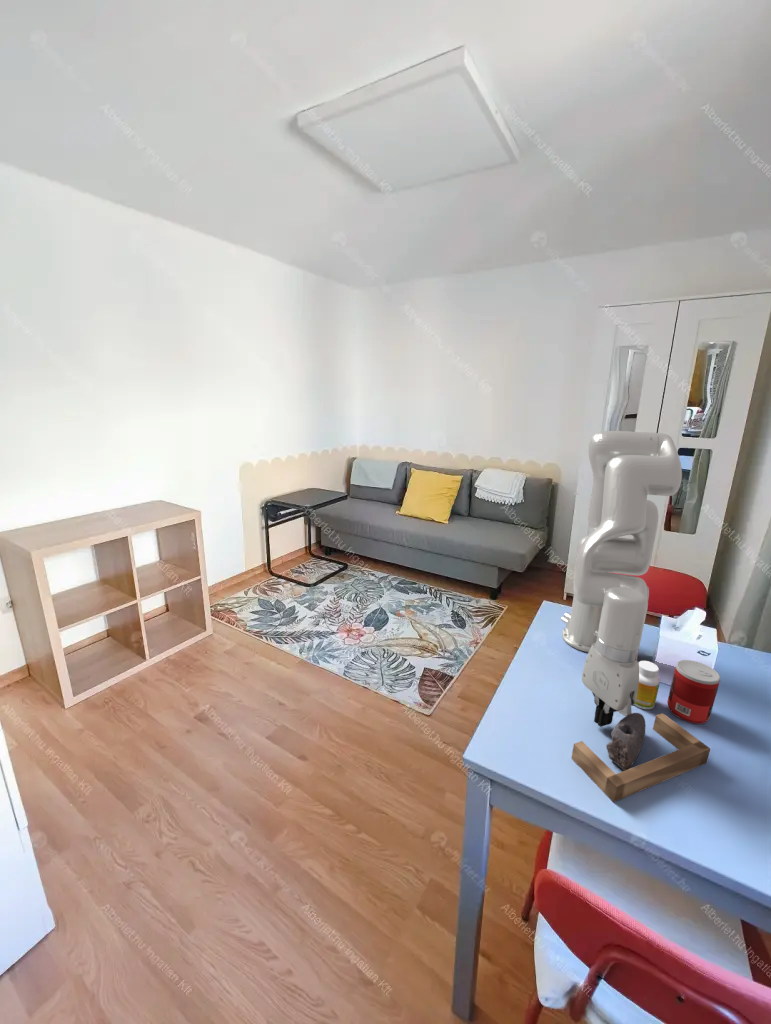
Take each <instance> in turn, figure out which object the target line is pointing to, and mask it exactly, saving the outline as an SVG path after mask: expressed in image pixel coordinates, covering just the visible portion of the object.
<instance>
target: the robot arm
mask: <svg viewBox="0 0 771 1024" xmlns="http://www.w3.org/2000/svg"><path fill="white" fill-rule="evenodd" d="M588 458H589V463H590V466H591V470H592V477H593V479H592V487H591V493H590V499H589V507H588V515H587V516H588V518H587V522H588V525H589V527H590V528H591V529H592V530H593V531H592V532H590V533H589V534H587V535H586V536H583V537H581V538H580V539H579V540H578V543H577V547H576V548H577V550H576V558H575V563H574V576H573V599H572V603H571V604H572V605H571V611H570V612H565V613H564V615H563V616H562V617H561V618H560V619H561V621H562V622H563V623H565V624H566V626H565V627H564V628H563V629H562V631H561V637H562V639H563V641H564V642H565V643H566V644H568V645H569V646H571V647H572V648H574V649H576V650H579V651H582V652H586V653H587V656H586V659H585V661H584V665H583V669H582V674H581V681H582V682H581V683H582V684H583V685H584V687H585V688H586V689H588V690H589V691H590V692H591V694H592V696H593V697H594V699H593V701H594V705H595V706H596V707H595V712H594V718H593V719H594V720H593V722H594V724H597V725H598V726H599V728H602V727H605V726H609V725H611V724H612V721H613V717H614V713H615V712H618V713H619V714H620V715H622V716H624V717H626V716H629V715H631V714H632V713H633V712H632V707H633V706H635V705H634V704H635V702H636V698H637V693H638V686H639V662H640V661H638V656H639V651H640V645H641V640H642V636H643V631H644V628H645V621H646V617H647V612H648V606H649V597H650V587H649V586H647V585H648V584H647V583H646V581H645V580H644V579H643V578H641V577H638V576H643V575H644V574H646V573H648V571H649V569H650V565H651V561H652V558H653V552H654V547H655V541H656V536H657V531H658V527H659V526H658V524H659V510H658V507H657V505H656V503H655V502H653V501H651V500H649V499H648V496H651V495H652V496H660V497H671V496H674V495H675V494H677V492H678V491H679V490H680V487H681V484H682V480H683V479H682V477H683V472H682V471H683V470H682V469H683V468H682V464H681V463H682V462H681V458H680V456H679V453H678V450H677V448H676V445H675V442H674V440H673V438H672V437H671V435H668V434H666V433H663V432H647V431H645V432H643V431H628V430H627V431H625V430H605V431H598V432H596V433H594V434H593V435H592V436H591V437H590V439H589V443H588ZM625 536H631V537H633V538H629V537H628V538H627V537H625Z"/></svg>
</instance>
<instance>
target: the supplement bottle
mask: <svg viewBox="0 0 771 1024" xmlns="http://www.w3.org/2000/svg"><path fill="white" fill-rule="evenodd" d="M638 662H639V686H638V693H637V698H636V702H635V704H634V706H635V707H637V708H639V709H642V710H652V709H653V708H655V705H656V702H657V696H658V692H659V688H660V683H661V678H660V676H659V673H660V672H659V671H660V668H659V667H658V665H657V664H656V663H653V662H652V661H649V660H640V661H638Z"/></svg>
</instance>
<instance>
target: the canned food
mask: <svg viewBox="0 0 771 1024" xmlns="http://www.w3.org/2000/svg"><path fill="white" fill-rule="evenodd" d="M720 682H721V675H720V674H719V673H718V671H716V670H715V669H714V668H712V667H711V666H708V665H707V664H704V663H702V662H698V661H695V660H689V659H684V660H683V659H681V660H679V661H677V663H676V665H675V668H674V672H673V675H672V679H671V686H670V688H669V694H668V698H667V707H668V710H669V711H670V712H671V713H672V714H673V715H675V716H676V717H677V718H678V719H681V720H683V721H685V722H686V723H687V722H688V723H691V724H697V725H698V724H699V725H700V724H705V723H707V722H708V721H709V720H710V718H711V714H712V711H713V707H714V704H715V700H716V696H717V694H718V690H719V687H720Z"/></svg>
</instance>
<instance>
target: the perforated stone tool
mask: <svg viewBox="0 0 771 1024" xmlns="http://www.w3.org/2000/svg"><path fill="white" fill-rule="evenodd" d="M610 736H611V741H609V742H608V743H607V744H605V745H606V750H607V753H608V758H609V759H610V760H611V761H612V762H613V763H614V764H616V765H617V766H618V767H619V768H620V769H621V770H623V771H625V770H628V769H630V768H632V766H633V765H634V763H635V762H636V759H637V758H638V756H639V754H640V752H641V751H642V747H643V744H644V742H645V741H644V740H645V736H646V720H645V717H644V716H643V714H642V713H640V712H632V714H631V715H629V716H624V717H623V718H622V719H621V720H619V721H618V723H617V724H615V726H614V728H613V729H612V731H611V735H610Z"/></svg>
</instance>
